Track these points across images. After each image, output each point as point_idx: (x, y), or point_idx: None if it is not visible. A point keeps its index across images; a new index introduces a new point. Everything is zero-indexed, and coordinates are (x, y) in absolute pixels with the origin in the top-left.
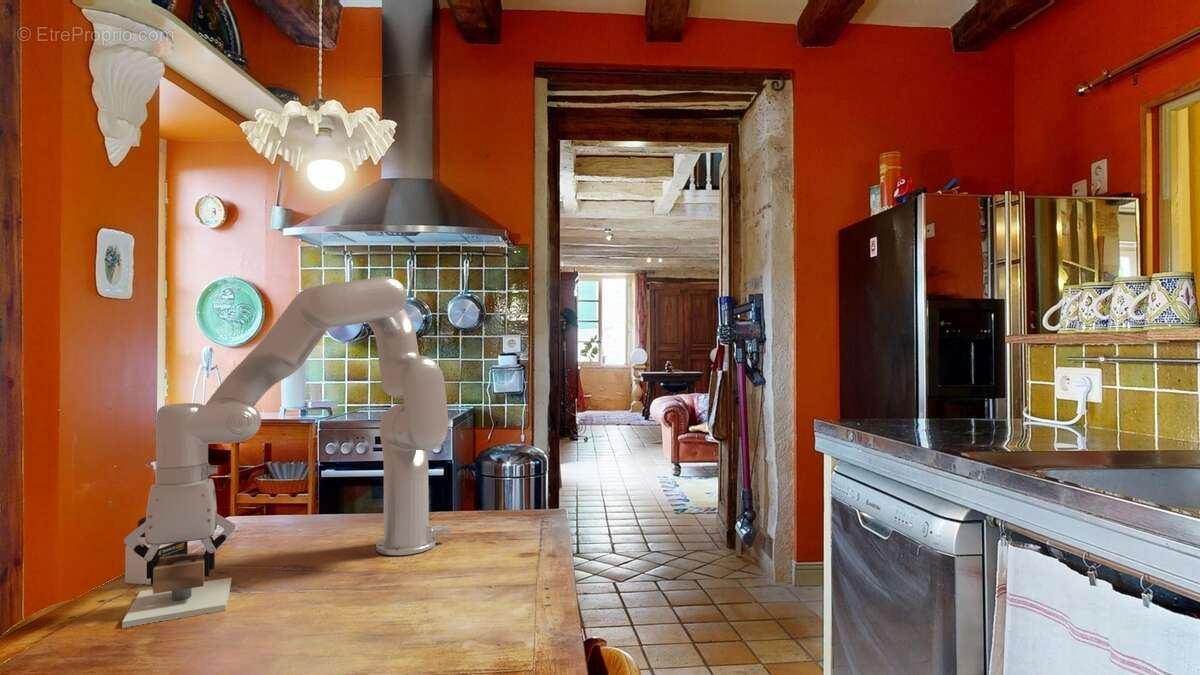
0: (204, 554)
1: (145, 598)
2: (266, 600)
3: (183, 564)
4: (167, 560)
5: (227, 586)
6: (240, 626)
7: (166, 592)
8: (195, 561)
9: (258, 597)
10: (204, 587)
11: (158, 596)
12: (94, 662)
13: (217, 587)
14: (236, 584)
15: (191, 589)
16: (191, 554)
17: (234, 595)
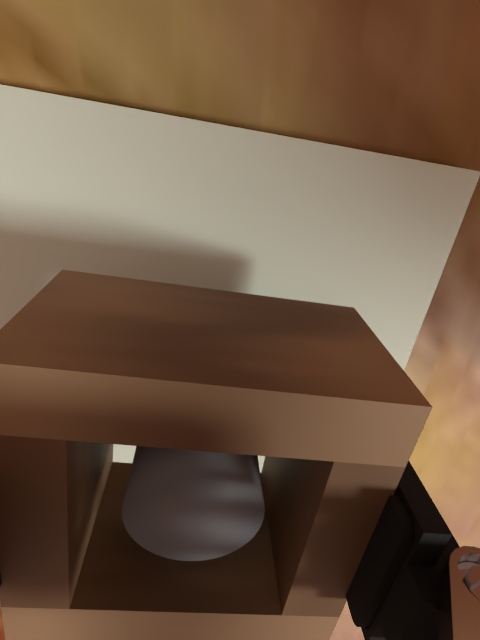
0: (362, 622)
1: (19, 258)
2: (477, 482)
3: (204, 635)
4: (69, 476)
5: (412, 323)
6: (345, 609)
7: (121, 221)
8: (284, 613)
9: (470, 442)
10: (315, 266)
11: (86, 269)
12: (2, 637)
13: (369, 311)
14: (471, 213)
15: (251, 257)
16: (279, 439)
17: (409, 370)
